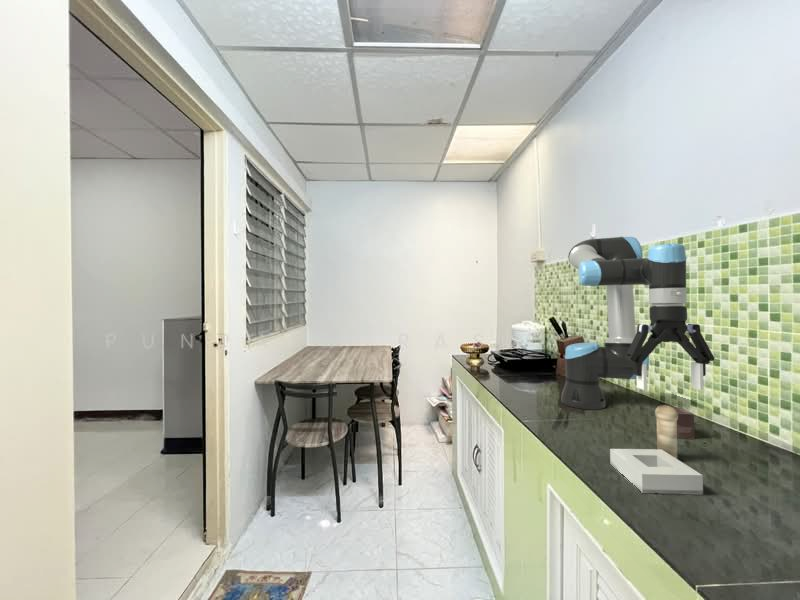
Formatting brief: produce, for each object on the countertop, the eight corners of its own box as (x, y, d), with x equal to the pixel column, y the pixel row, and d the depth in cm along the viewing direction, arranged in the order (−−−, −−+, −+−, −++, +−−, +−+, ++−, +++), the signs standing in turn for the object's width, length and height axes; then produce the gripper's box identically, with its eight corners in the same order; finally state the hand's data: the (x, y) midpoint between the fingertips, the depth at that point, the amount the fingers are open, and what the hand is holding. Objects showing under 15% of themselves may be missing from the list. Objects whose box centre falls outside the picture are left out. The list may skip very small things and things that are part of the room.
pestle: (651, 454, 87) (650, 402, 88) (670, 454, 87) (669, 402, 87) (664, 462, 83) (663, 408, 83) (683, 462, 83) (682, 408, 83)
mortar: (610, 465, 82) (610, 448, 82) (661, 465, 81) (661, 449, 81) (642, 493, 70) (642, 474, 70) (703, 494, 69) (702, 475, 69)
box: (695, 439, 96) (694, 414, 96) (671, 438, 97) (670, 413, 97) (682, 431, 102) (681, 407, 102) (659, 430, 103) (659, 406, 103)
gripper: (626, 305, 82) (628, 392, 82) (732, 304, 81) (735, 392, 81) (608, 305, 90) (610, 385, 90) (706, 304, 89) (708, 385, 88)
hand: (669, 388), depth 85 cm, fingers open, 13 cm apart
